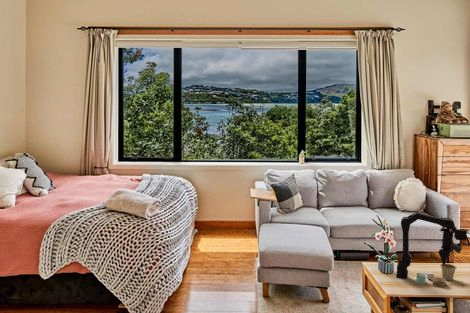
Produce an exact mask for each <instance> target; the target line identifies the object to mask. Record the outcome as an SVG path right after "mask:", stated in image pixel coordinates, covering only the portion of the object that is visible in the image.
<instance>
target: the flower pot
mask: <svg viewBox="0 0 470 313" xmlns="http://www.w3.org/2000/svg"><path fill="white" fill-rule="evenodd" d="M440 268H441V278H445V281H453V280H454V276H455V273H456V270H457V266H456V265H454V264H451V263H450V264H449V263H445V265H443V263H441V264H440Z"/></svg>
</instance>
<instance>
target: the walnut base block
mask: <svg viewBox="0 0 470 313" xmlns="http://www.w3.org/2000/svg"><path fill="white" fill-rule="evenodd" d="M431 281H432V282H433V283H432V286H433V287H440V288H446V283H447V281H446V280H445V278H442V277H438V276H434V277H433V279H432V280H431Z"/></svg>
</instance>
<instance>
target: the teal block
mask: <svg viewBox="0 0 470 313" xmlns="http://www.w3.org/2000/svg"><path fill="white" fill-rule="evenodd" d="M426 280H427V279H426V276H425V273H420V272H417V273H416V284H419V283H420V285H426Z"/></svg>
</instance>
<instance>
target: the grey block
mask: <svg viewBox="0 0 470 313" xmlns="http://www.w3.org/2000/svg"><path fill="white" fill-rule="evenodd" d="M424 274H425V276H426V278H427V279H430V281H432V279H433V277H435V273H434V272H433V271H427V270H426V271H425V272H424ZM427 279H426V280H427Z"/></svg>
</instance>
